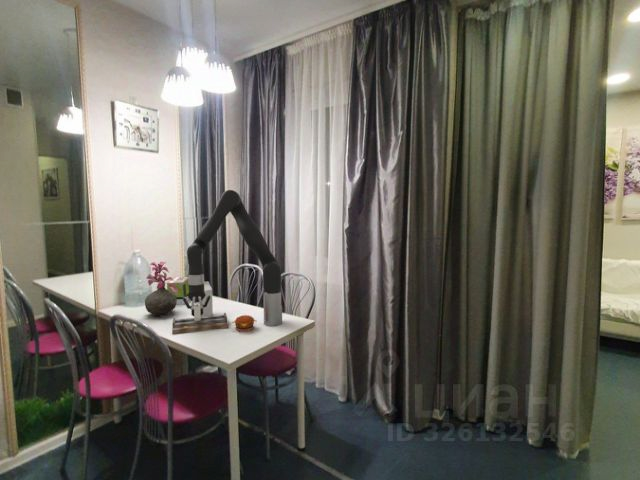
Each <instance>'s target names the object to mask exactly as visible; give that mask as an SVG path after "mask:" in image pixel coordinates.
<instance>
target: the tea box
mask: <svg viewBox="0 0 640 480" xmlns="http://www.w3.org/2000/svg"><path fill="white" fill-rule="evenodd" d="M188 277H189V276H181V277H180V276H178V277H176V276H174V277H173V278H172V279H173V280H174V281H173V280H168V282H166V289H167V290H169V291H171V292H173V291H172V289H171V288H170V286H169V285H173V286H175V287H176V288H177V289H178V293H177V292H173V293H174V294H175V296H176V298H177V304H176V306H183V305H185V303H184V301H183V297H187V296H188V294H189V284H188ZM189 300H190V299H189V298H188V301H189Z"/></svg>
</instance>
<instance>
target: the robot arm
mask: <svg viewBox="0 0 640 480" xmlns="http://www.w3.org/2000/svg"><path fill="white" fill-rule="evenodd" d="M229 214H231V215H232V217H233V219H234V221H235V222H236V225H237V228H238V231H239V232H240V235H241V236H242V239H243V240H244V242H245V244H246V245H247V246H248V248H249V249H250V251H252V252H253V253H254V254H255V255H256V258H258V260H259V261H260V264H261V266H262V288H263V325H265V326H270V327H276V326H279V325H281V324H283V306H282V266H281V264H280V263H279V261H278V260H277V259H276V257H275V256H274V255H273V253H272V251H271V250H270V248H269V246H268V244H267V242H266V239H265V238H264V236H263V233H262V232H261V230H260V229H259V227H258V225H257V224H256V222H255V220H253V218H252V217H251V216H250V214H249V213H248V211H247V210H246V207H245V205H244V203H243V200H242V199H241V196H240V194H239V193H238V192H237V191H235V190H233V189H227V190H225V191H224V192H223V193H222V194H221V196H220V199H219V201H218V203H217V205H216V207H215V209H214V210H213V212H212V214H211V215H210V217H209V218H208V219H207V220H206V222H205V223H204V224H203V226H202V228H201V229H200V230H199V232H198V233H197V236H196V238H195V240H194V241H193V242H192V244H190V245H189V246H188V247H187V249H186V259H187V264H188V276H187V277H188V284H189V294H188V296H187V297H183V301H184V303H185V304H184V305H185V306H186V308H187V309H188V310H189V309H190V312H191V313H190V316H192V317H194V304H195V303H196V302H199V303H200V307H201V308H200V312H201V316H202V314H203V308H204V307H207V304H208V302H209V300H210V295H206V294H205V292H204V282H205V274H204V264H203V259H202V258H203V257H202V256H203V255H202V254H204V253H205V250H206V249H207V247H208V245H209V243H211V242H212V240H213V239H214V238H215V236H216V234H217V233H218V231H219V229H220V228H221V225H222V224H223V222H224V220H225V219H226V217H227V216H228V215H229ZM204 297H206V301H205V304H204V305H203V304H202V300H203V299H204ZM188 298H189V300H190V301H191V305H190V304H189V302H188V301H189V300H188Z"/></svg>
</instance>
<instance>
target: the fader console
mask: <svg viewBox="0 0 640 480" xmlns="http://www.w3.org/2000/svg"><path fill="white" fill-rule="evenodd" d="M171 325H172V328H171V329H172V330H171V331H172V332H171V333H172V335H176V334H183V333H185V334H186V333H194V332H202V331H212V330H219V329H228V328H229V323H228V315H227V313H226V312H223V314H217V315H215V314H214V315H210V316H205V317H201V321H194V317H188V318H177V319H176V317H173V318H172V324H171Z"/></svg>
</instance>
